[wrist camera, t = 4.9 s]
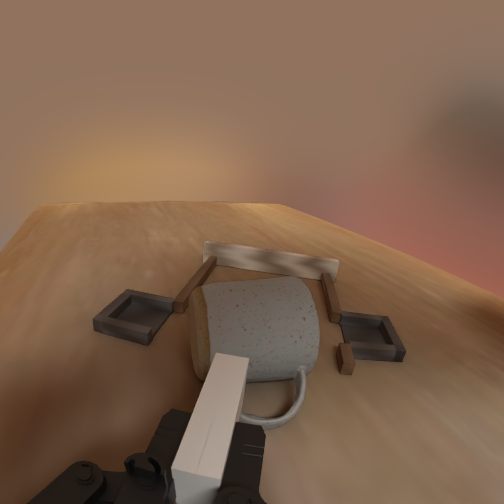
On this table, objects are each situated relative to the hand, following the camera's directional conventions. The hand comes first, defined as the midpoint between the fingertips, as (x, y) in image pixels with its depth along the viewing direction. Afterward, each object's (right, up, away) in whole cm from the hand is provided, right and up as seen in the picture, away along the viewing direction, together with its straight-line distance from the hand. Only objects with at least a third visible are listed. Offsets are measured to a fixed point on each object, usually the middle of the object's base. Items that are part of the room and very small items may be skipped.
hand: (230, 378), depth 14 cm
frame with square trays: (+2, 0, +21) cm, 21 cm away
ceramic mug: (+1, -4, +9) cm, 10 cm away
